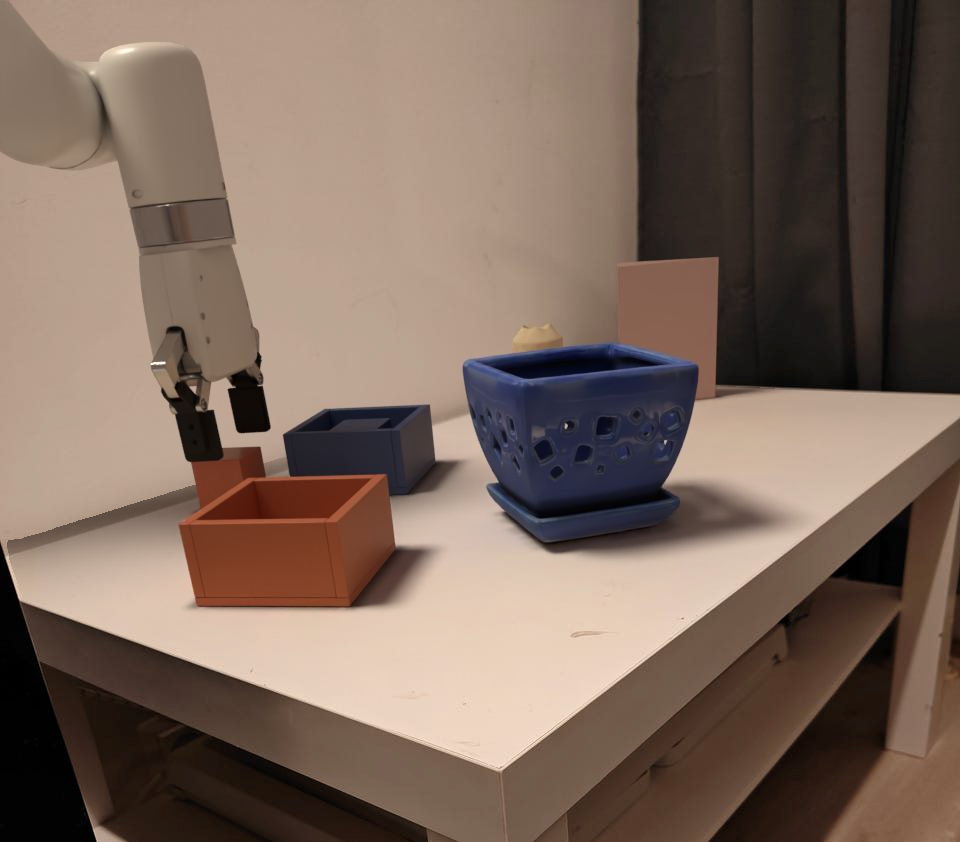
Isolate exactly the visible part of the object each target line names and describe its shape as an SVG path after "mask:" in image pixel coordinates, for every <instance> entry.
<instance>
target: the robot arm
mask: <svg viewBox="0 0 960 842" xmlns="http://www.w3.org/2000/svg"><path fill="white" fill-rule="evenodd" d="M199 59H200V58H199V57H198V56H197V54H195V52H194V51H193V50H192V49H190V48H189V47H188V46H186V45H183V44H180V43H175V42H168V41H143V42H133V43H126V44H122V45H117V46H114V47H111V48H109V49H107V50H105V51H104V52H103V53H102V55H100V57H99V59H98V61H83V60H82V61H80V60H75V59H72V58H68V57H66V56H63V55H61V54H59V53H57V52H55V51H53V50H51V49H50V48H49V47H48V46H47V45H46V44H45V42H43V40H42V39H41V38H40V37H39V36H38V34H37V33H36V32H35V30H34V29H33V28H32V27H31V26H30V25H29V23H28V22H27V21H26V20H25V19H24V18H23V16H22V15H21V14H20V13H19V12H18V10H17V8H16V7H14V5H13V4H12V3H11V2H10V0H0V153H1V154H3V155H5V156H6V157H8V158H10V159H12V160H15V161H17V162H20V163H22V164H27V165H32V166H39V167H46V168H49V169H55V170H63V171H84V170H88V169H92V168H96V167H100V166H105V165H107V164H110V163H114V162H117V164H118V168H119V172H120V177H121V182H122V186H123V190H124V194H125V198H126V202H127V207H128V209H129V210H128V211H129V215H130V218H131V224H132V227H133V232H134V236H135V240H136V244H137V247H138V248H137V249H138V253H139V255H138V264H139V265H138V266H139V267H138V270H139V283H140V290H141V298H142V304H143V305H142V306H143V311H144V317H145V322H146V328H147V329H146V330H147V334H148V339H149V344H150V348H151V354H152V360H151V363H150V370H151V372H152V374H153V376H154V377H155V379H156V381H157V384H158V385H159V386H160V393H161V395H162V397H163V398H164V399H165V400H166V402H168V407H169V408H168V409H169V411H170V413H171V414H172V415H174V418H175V421H176V426H177V429H178V434H179V438H180V444H181V447H182V451H183V455H184V458H185V460H186V462H188V463H191V462H203V461H218V460H220V459H222V458H223V456H224V454H223V449H222V448H223V444H222V440H221V436H220V431H219V427H218V423H217V418H216V414H215V413H216V412H215V409H209V402H210V396H211V387H212V383H216V382H218V381H221V380H223V379H227V381H228V383H229V384H230V385H231V387H229V388H227V394H228V398H229V403H230V408H231V413H232V418H233V423H234V426H235V430H236V432H237V433H238V434H255V433H257V434H258V433H267V432H269V431H270V430H271V429H272V428H271V427H272V425H271V421H270V415H269V410H268V405H267V400H266V394H265V390H264V381H265V379H264V374H263V372H262V370H261V367H262V362H263V359H262V358H263V356H262V355H261V353H260V332H259V330H258V329H257V328H256V327H255V326H254V323H253V318H252V314H251V310H250V305H249V301H248V296H247V293H246V290H245V286H244V282H243V278H242V275H241V271H240V267H239V263H238V261H237V258H236V254H235V251H234V247H233V245H237V239H236V233H235V227H234V223H233V218H232V213H231V209H230V208H231V207H230V203H229V199H228V198H229V197H228V193H227V187H226V182H225V178H224V172H223V168H222V162H221V158H220V152H219V147H218V141H217V137H216V132H215V131H216V130H215V128H214V122H213V115H212V112H211V106H210V100H209V96H208V90H207V84H206V80H205V76H204V72H203V68H202V67H203V66H202V64H201V61H200V60H199ZM191 387H195V392H194V391H193V389H191Z"/></svg>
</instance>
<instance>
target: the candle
mask: <svg viewBox="0 0 960 842" xmlns="http://www.w3.org/2000/svg"><path fill="white" fill-rule="evenodd" d="M511 344H512V345H511V346H512V347H511V348H512V353H520V352H527V351H535V350H543V349H551V348H560V347H564V337H563V336H562V334H561V333H559V332H558V330H557V329H556V328H555V327H554V326H553V324H552V323H547V324H544V326H526V325H525V324H524V325H522V326H521V328H520V329H519V331H518V332H517V333H516V335H515V336H514V337H513V339H512V341H511Z"/></svg>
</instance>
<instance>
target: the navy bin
mask: <svg viewBox="0 0 960 842" xmlns="http://www.w3.org/2000/svg"><path fill="white" fill-rule="evenodd" d="M379 418H390V419H391V427H392V428H390V429H363V430H336V431H329V430H331V429H332V428H334V427H335V426H337V425H338V424H339V423H341V422H342V421H344V420H354V419H379ZM433 431H434V430H433V421H432V411H431V404H409V405H408V404H407V405H384V406H383V405H382V406H360V407H337V408H335V407H333V408H323V409H322V410H321V411H319V412H317V413H315V414H314V415H312V416H310V417H309V418H307V419H305V420H304V421H302V422H300V423H299V424H298V425H296V426H294V427H292V428H291V429H289V430H287V431H286V432H284V433H283V434H282V439H283V445H284V451H285V456H286V463H287V468H288V474H289V477H304V476H342V475H377V474H387V481H388V489H389V496H392V495H408V494H409V492H411V490H412V489H413V488H415V486H416V485H417V484H418V483H419V482H420V481H421V479H422V478H423V477H424V476H425V475H426V474H427V473H428V472H429V471H430V470H431V468H432V467H433V466H434V465H435V464H436V463H437V461H436V452H435V440H434V432H433Z"/></svg>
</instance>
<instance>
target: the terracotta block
mask: <svg viewBox="0 0 960 842" xmlns="http://www.w3.org/2000/svg"><path fill="white" fill-rule="evenodd" d="M222 449H223V454H224V456H223V458H222V459H220V460H218V461H203V462H190V464H191V465H190V466H191V469H192V473H193V478H194V484H195V489H196V493H197V497H198V501H199V507H200V510H201V509H202V508H204V507H205V506H207V505H208V504H210V503H211V502H213V501H214V500H216V499H217V498H219V497H220V496H222V495H223V494H225V493H226V492H228V491H229V490H231V489H232V488H234V487H235V486H237V485H238V484H240V483H241V482H243V481H244V480H246V479H247V478H266V477H267V475H266V469H265V465H264V459H263V453H262V447H261V446H239V447H238V446H235V447H234V446H233V447H222Z"/></svg>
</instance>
